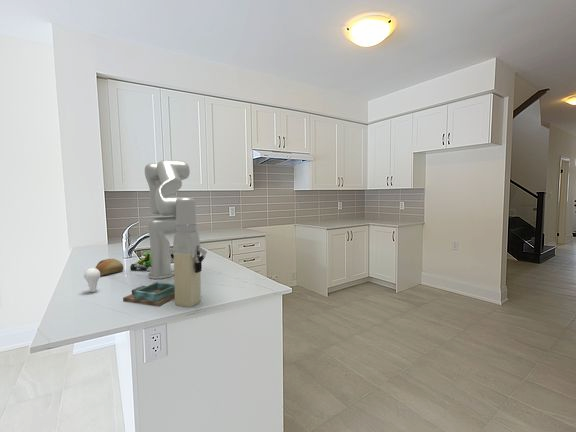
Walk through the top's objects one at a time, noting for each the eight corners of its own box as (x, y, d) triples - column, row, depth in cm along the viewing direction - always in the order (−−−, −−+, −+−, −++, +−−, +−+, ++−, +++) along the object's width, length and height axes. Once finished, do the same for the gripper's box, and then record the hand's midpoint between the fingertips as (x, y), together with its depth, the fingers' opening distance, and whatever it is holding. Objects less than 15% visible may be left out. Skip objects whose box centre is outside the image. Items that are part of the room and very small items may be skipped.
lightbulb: (84, 295, 127) (82, 270, 126) (86, 291, 132) (84, 267, 131) (100, 293, 130) (99, 269, 129) (102, 289, 135) (100, 265, 134)
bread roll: (89, 276, 156) (89, 261, 155) (116, 269, 169) (115, 255, 169) (101, 278, 152) (100, 263, 151) (127, 271, 165) (126, 257, 165)
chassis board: (123, 301, 120) (122, 290, 120) (149, 290, 133) (148, 280, 133) (158, 306, 114) (157, 295, 114) (181, 294, 128) (181, 284, 127)
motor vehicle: (130, 271, 165) (129, 253, 164) (149, 263, 184) (148, 246, 183) (149, 272, 164) (148, 253, 163) (166, 263, 183) (166, 247, 182)
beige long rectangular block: (202, 300, 120) (201, 250, 119) (191, 307, 114) (189, 254, 112) (186, 298, 123) (185, 249, 121) (174, 304, 116) (172, 253, 114)
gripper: (162, 229, 115) (164, 272, 116) (199, 230, 109) (200, 275, 110) (175, 227, 122) (176, 267, 123) (210, 228, 116) (212, 270, 118)
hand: (188, 271), depth 117 cm, fingers open, 9 cm apart
